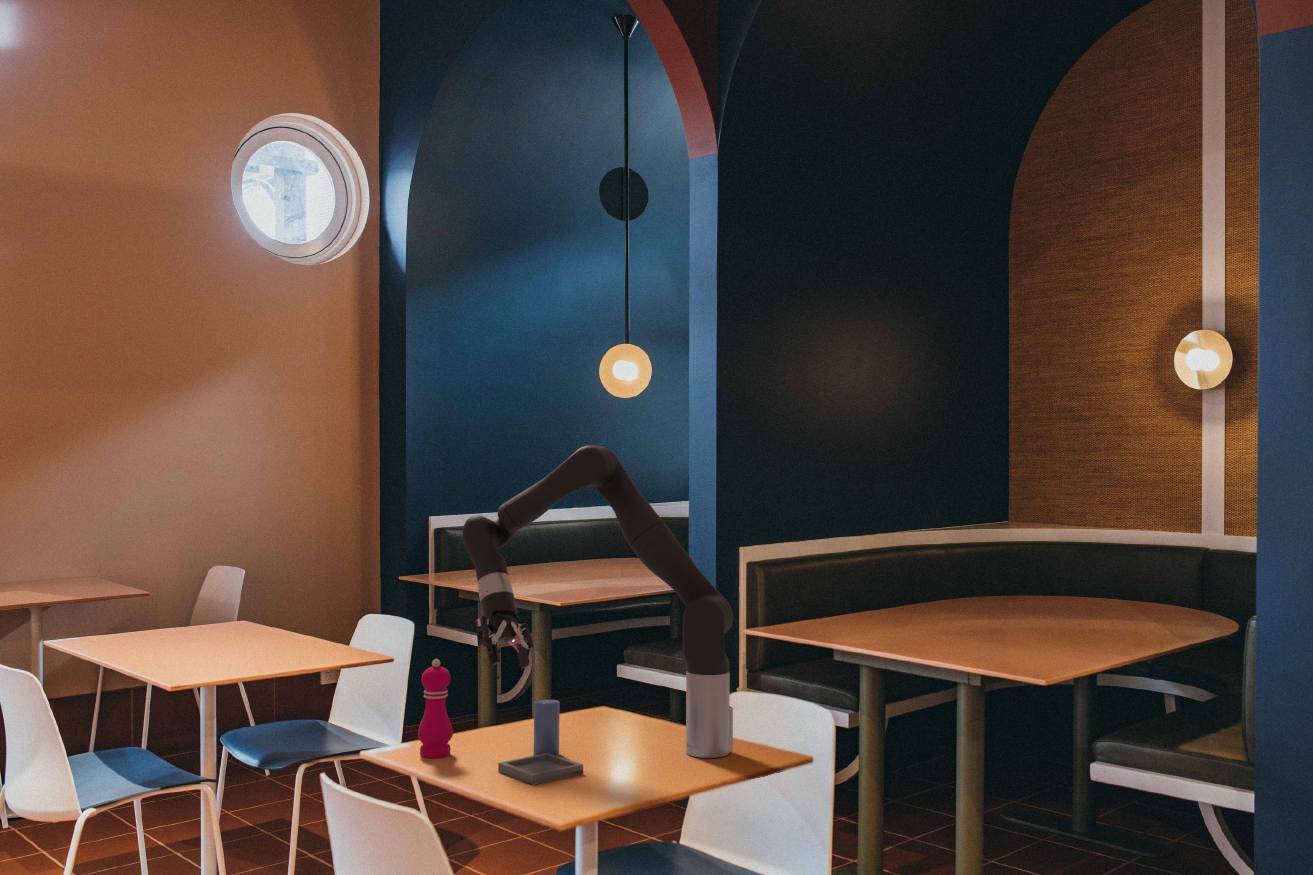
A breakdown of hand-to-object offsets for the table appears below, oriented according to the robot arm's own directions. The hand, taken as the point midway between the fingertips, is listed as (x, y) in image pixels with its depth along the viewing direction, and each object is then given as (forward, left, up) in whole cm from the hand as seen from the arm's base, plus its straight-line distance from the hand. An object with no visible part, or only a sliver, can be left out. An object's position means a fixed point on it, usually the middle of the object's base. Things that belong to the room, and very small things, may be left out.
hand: (510, 665), depth 233 cm
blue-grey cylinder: (-3, +9, -18) cm, 20 cm away
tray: (+6, +20, -18) cm, 28 cm away
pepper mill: (+15, -6, -18) cm, 24 cm away
